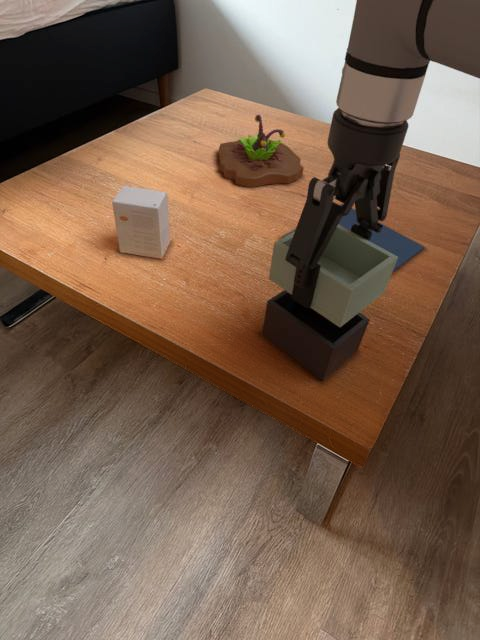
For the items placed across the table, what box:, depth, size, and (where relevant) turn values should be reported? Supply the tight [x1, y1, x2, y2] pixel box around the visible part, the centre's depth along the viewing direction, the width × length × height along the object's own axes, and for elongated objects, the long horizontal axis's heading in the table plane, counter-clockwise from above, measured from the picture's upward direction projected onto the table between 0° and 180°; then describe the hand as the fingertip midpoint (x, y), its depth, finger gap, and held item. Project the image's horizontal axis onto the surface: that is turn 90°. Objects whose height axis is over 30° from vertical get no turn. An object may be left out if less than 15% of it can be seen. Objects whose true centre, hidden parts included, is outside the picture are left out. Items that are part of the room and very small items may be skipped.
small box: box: [111, 185, 171, 260], centre depth 79 cm, size 8×6×10 cm
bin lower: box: [261, 289, 371, 382], centre depth 66 cm, size 12×8×7 cm
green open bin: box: [268, 224, 398, 327], centre depth 58 cm, size 12×10×6 cm
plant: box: [218, 114, 305, 188], centre depth 104 cm, size 20×20×11 cm
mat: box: [281, 203, 425, 273], centre depth 88 cm, size 20×20×1 cm
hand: (326, 284), depth 60 cm, fingers closed on green open bin, 10 cm apart
